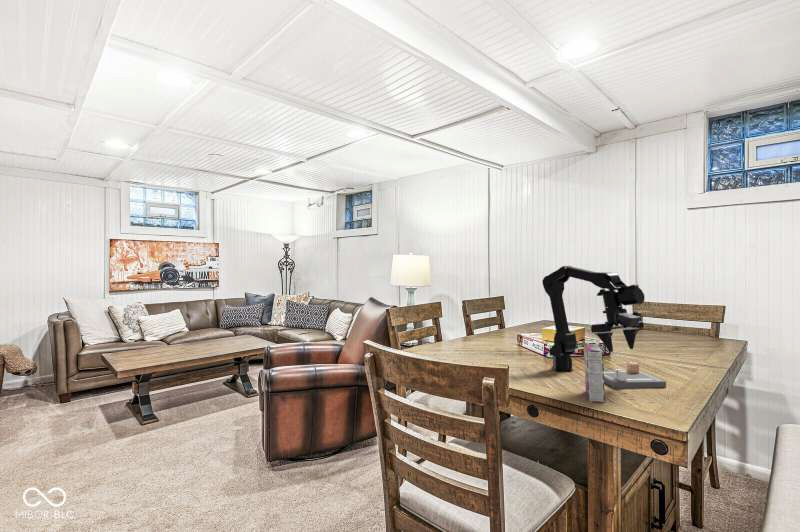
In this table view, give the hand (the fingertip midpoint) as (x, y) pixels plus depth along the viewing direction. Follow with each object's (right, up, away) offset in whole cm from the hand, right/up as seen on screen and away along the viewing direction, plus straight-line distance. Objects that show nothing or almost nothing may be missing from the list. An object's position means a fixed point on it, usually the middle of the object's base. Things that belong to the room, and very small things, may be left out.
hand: (621, 350), depth 143 cm
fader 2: (+10, -10, +10) cm, 17 cm away
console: (+5, -12, +5) cm, 14 cm away
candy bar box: (-16, -13, -12) cm, 24 cm away
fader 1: (0, -10, 0) cm, 10 cm away
